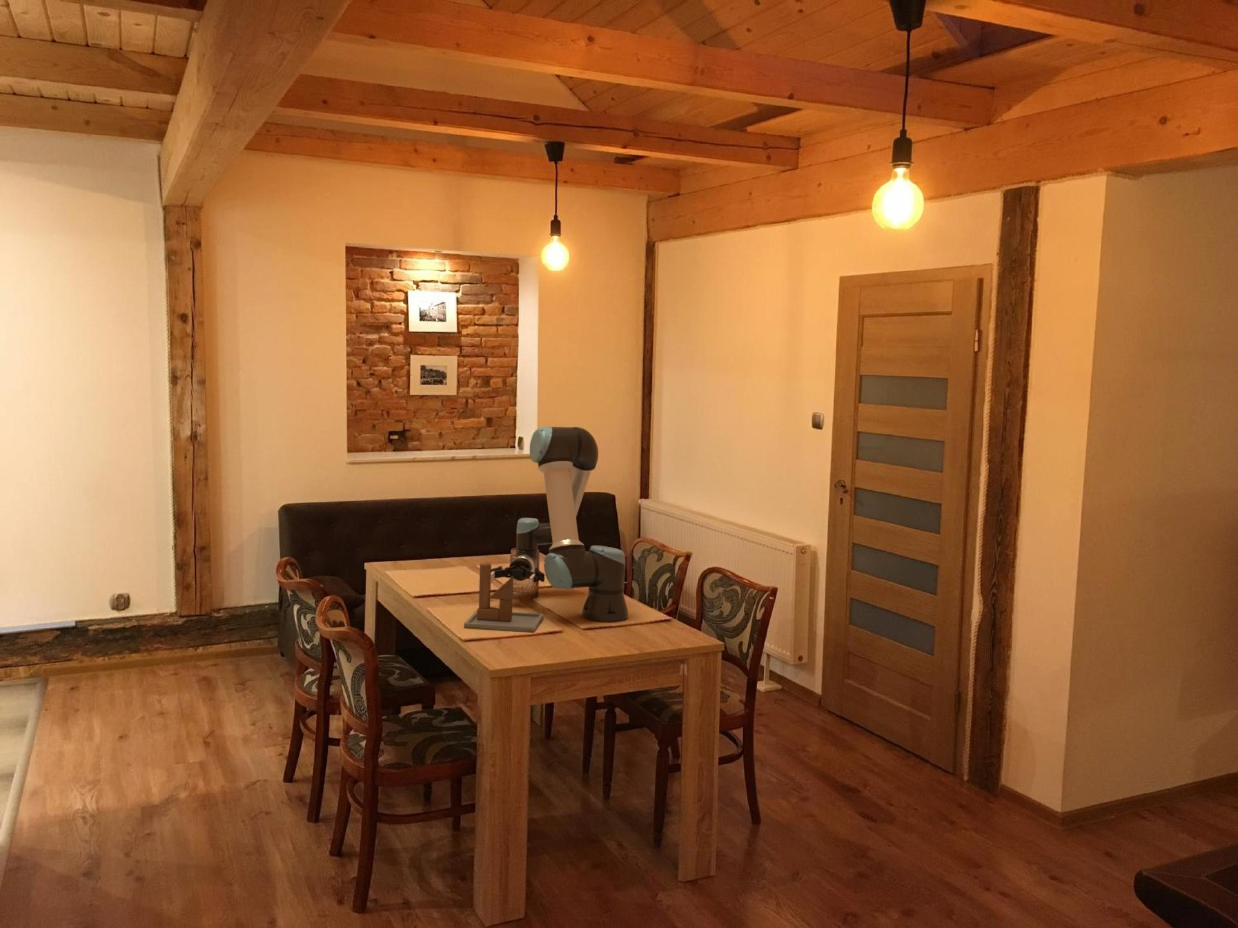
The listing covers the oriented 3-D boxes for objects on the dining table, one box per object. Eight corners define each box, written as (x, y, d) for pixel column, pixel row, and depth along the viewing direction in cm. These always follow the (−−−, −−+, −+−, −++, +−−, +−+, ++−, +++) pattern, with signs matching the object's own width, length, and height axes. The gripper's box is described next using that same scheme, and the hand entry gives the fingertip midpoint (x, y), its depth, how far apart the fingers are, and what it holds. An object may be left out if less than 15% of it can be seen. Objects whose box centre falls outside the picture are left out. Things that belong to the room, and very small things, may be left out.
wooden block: (509, 622, 337) (511, 566, 335) (476, 619, 338) (478, 564, 336) (512, 619, 341) (513, 564, 339) (479, 617, 342) (480, 562, 340)
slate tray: (543, 618, 346) (543, 613, 346) (533, 632, 328) (533, 627, 328) (477, 614, 348) (477, 609, 348) (464, 627, 330) (464, 623, 330)
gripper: (557, 580, 365) (547, 594, 344) (485, 576, 367) (471, 589, 346) (557, 559, 364) (548, 571, 343) (486, 555, 366) (472, 567, 345)
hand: (509, 580), depth 344 cm, fingers open, 13 cm apart
